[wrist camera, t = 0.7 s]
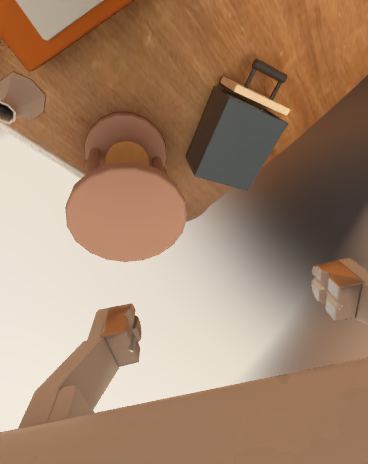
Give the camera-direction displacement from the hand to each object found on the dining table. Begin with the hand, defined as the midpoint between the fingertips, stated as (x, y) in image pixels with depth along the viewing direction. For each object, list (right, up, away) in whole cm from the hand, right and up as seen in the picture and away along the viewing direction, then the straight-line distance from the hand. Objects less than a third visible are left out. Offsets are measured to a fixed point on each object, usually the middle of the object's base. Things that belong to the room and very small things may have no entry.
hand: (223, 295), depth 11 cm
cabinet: (+8, +25, +45) cm, 52 cm away
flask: (-31, +28, +33) cm, 53 cm away
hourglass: (-15, +21, +43) cm, 50 cm away
